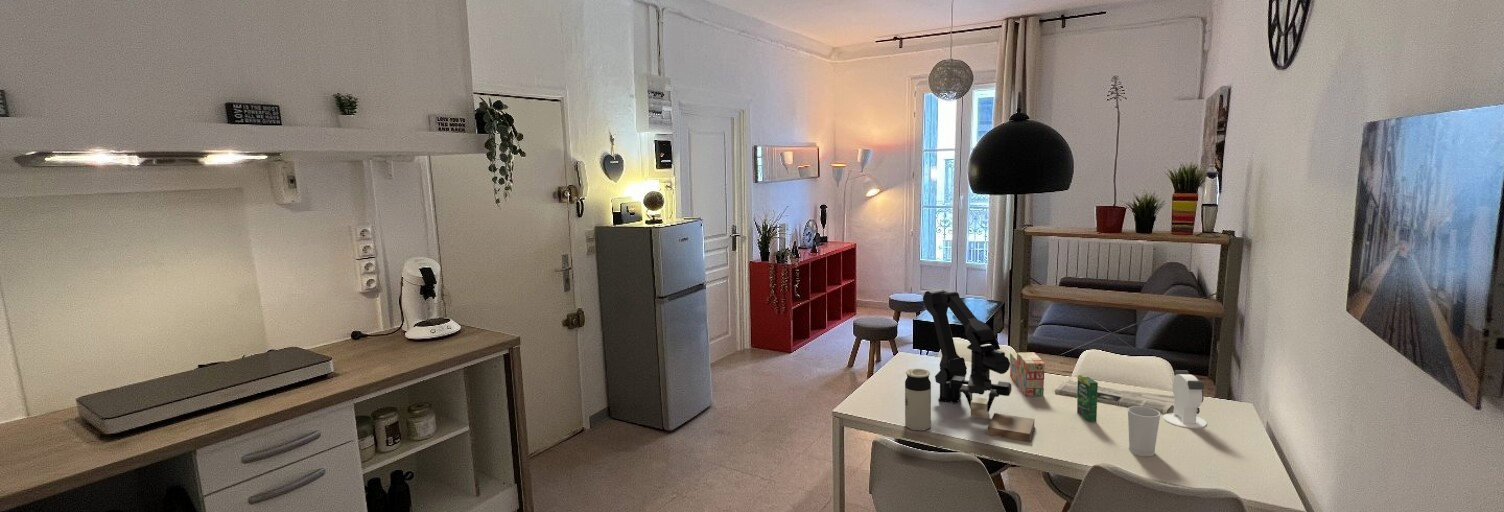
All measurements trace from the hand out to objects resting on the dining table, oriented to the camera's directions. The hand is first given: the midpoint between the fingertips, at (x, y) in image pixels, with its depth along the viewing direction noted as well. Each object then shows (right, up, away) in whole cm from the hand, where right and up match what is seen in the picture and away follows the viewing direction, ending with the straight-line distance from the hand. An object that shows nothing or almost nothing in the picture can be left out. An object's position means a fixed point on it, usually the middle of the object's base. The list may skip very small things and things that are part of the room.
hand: (979, 410), depth 218 cm
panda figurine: (+61, -1, -11) cm, 62 cm away
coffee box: (+33, -1, -5) cm, 33 cm away
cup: (+36, -5, -30) cm, 47 cm away
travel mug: (-22, -4, -7) cm, 23 cm away
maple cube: (0, -2, 0) cm, 2 cm away
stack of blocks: (+26, +3, +25) cm, 36 cm away
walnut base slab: (+5, -3, -13) cm, 14 cm away
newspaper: (+50, +1, +10) cm, 51 cm away
